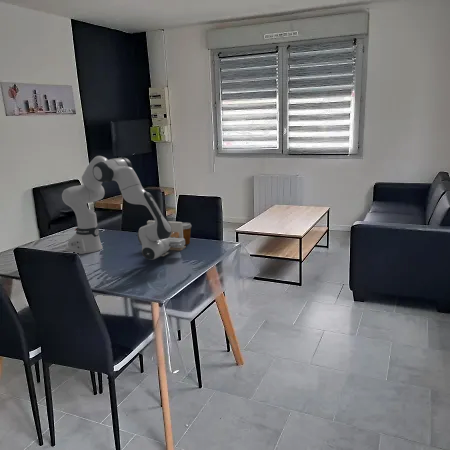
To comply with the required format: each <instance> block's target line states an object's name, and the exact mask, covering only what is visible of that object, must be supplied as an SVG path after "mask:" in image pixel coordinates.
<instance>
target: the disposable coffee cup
mask: <svg viewBox="0 0 450 450" xmlns="http://www.w3.org/2000/svg"><path fill="white" fill-rule="evenodd" d="M182 224H183V238H184V239H185V245H189V244H190V243H191V229H192V224H191V222H182Z"/></svg>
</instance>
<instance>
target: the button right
mask: <svg viewBox="0 0 450 450" xmlns="http://www.w3.org/2000/svg"><path fill="white" fill-rule="evenodd" d="M173 233H174V234H172V235H171V236H170V237H175V238H179V232H173Z"/></svg>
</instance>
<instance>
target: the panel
mask: <svg viewBox="0 0 450 450" xmlns="http://www.w3.org/2000/svg"><path fill="white" fill-rule="evenodd" d="M167 221H168V220H167ZM154 222H155V220H150V219H149V220H147V221H146V225H148V224H151V223H154ZM168 222H169V223H170V225H171V228H172V232H171V234H170V236H171V235H172V234H174V233H175V232H179V238H183V224H182V223H183V222H182V221H170V220H169V221H168ZM170 236H169V237H170ZM185 248H187V247H186V245H184V246H182V247H179V248H174V247H170V249H169V250H168V251H178V252H179V251H181V252H182V251H183V250H184V249H185Z"/></svg>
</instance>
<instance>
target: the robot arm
mask: <svg viewBox="0 0 450 450" xmlns="http://www.w3.org/2000/svg"><path fill="white" fill-rule="evenodd" d="M81 181H82V184H79V185H74V186H70V187H67V188H65V189H64V190H63V191H62V193H61V198H62V201H63V203H64V204H65V205H66V206H68V207H69V208H71V210H72V211H73V212H74V214H75V218H76V224H77V227H76V228H75V229H74V230H73V231H76V232H75V234H74V235H73V236H72V237H70V238H69V239H68V242H67V247H65V248H64V252H67V253H72V252H75V253H74V254H77V253H79V255H84V254H89V253H95V252H100V251H101V250H103V245H102V242H101V239H100V229H99V225H98V219H97V213H96V212H95V211H94V210H92V209H90V208H88V207H89V206H88V204H90V203H91V204H92V203H96V202H99V201H100V200H102V199H103V198H104V197H105V194H106V193H105V192H106V191H105V188H104V186H103V183H111V182H112V181H114V182H116V183H117V184H118V188H119V191H120V193H121V196H122V198H123V199H124V201H126V202H127V203H129V204H131V205H141V206H145V207H146V209H148V211H149V212H150V214H151V216H152V218H153V221H155V222H154V223H151V224H148V225H147V224H145V225H142V226H141V227H139V228H138V231H137V240H138V242H139V244H140V246H141V247H142V248H141V254H142V256H143V257H144V258H145V259H146V260H151V261H152V260H156V259H158V258H160V257H162V256H161V255H162V254H164V253H165V252H168V251H170V250H169V249H170V247H174V248H179V247H182V246H186V244H185V239H184V238H175V237H169V236H170V234H171V232H172V228H171V225H170V223H169V222H168V219H167V218H166V216H164V213H163V211H162V210H161V208H160V206H159V204H158V203H157V201H156V199H155V197H154V196H153V194H152V193H151V192H148V191H146V190H145V189H144V187H143V186H142V183H141V181H140V179H139V177H138V175H137V173H136V171H135V170H134V168H133V164H132V162H131V161H130V159H128V158H126V157H118V158H117V157H116V158H110V159H108V158H107V157H105V156H102V155H96V156H95V157H94V158H93V159H91V160H90V162H89V163H88V165H87V166H86V168H85V170H84V172H83V174H82V176H81Z"/></svg>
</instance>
